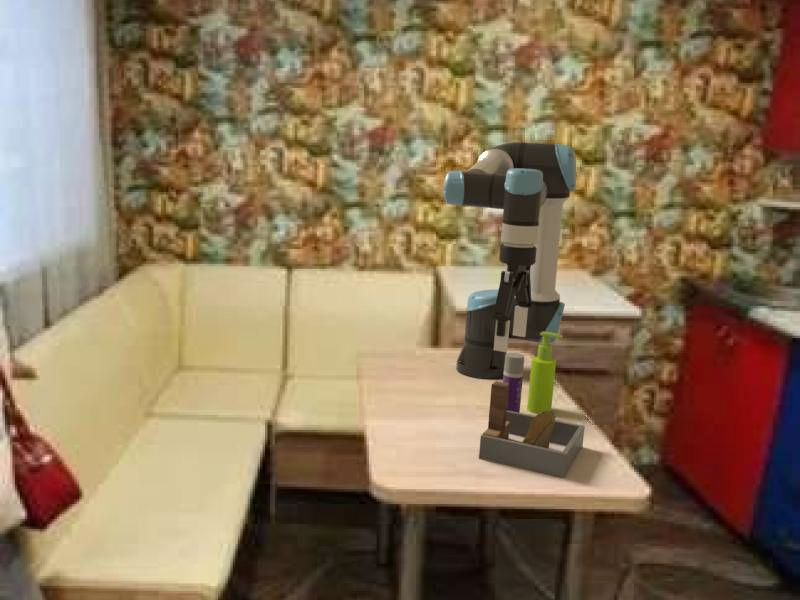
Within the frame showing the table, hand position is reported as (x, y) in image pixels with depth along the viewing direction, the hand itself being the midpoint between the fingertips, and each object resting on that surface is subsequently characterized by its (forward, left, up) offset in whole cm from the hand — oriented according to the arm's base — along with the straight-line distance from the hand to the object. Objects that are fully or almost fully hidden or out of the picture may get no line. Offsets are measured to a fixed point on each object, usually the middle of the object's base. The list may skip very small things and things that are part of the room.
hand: (510, 343), depth 168 cm
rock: (+1, +7, -24) cm, 25 cm away
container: (-20, -4, -24) cm, 31 cm away
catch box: (0, +7, -23) cm, 24 cm away
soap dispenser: (-27, +2, -23) cm, 36 cm away
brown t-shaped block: (0, -1, -23) cm, 23 cm away
